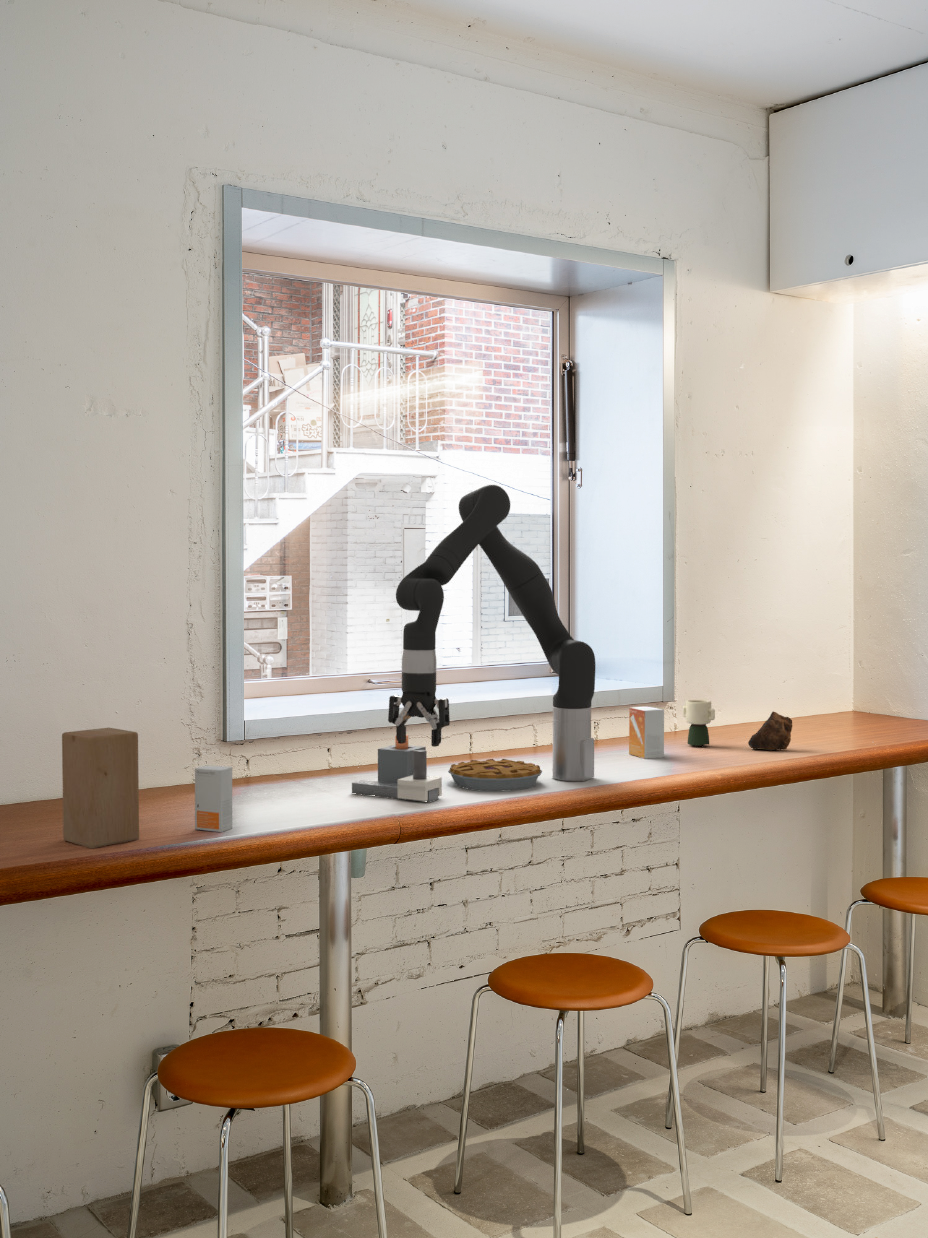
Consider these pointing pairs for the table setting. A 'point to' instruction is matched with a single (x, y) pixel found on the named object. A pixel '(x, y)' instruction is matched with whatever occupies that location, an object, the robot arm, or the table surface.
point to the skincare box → (213, 798)
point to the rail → (384, 789)
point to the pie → (495, 775)
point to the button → (401, 746)
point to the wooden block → (100, 787)
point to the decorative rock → (773, 733)
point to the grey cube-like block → (395, 763)
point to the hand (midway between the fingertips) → (418, 744)
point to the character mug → (698, 720)
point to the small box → (646, 732)
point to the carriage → (419, 780)
